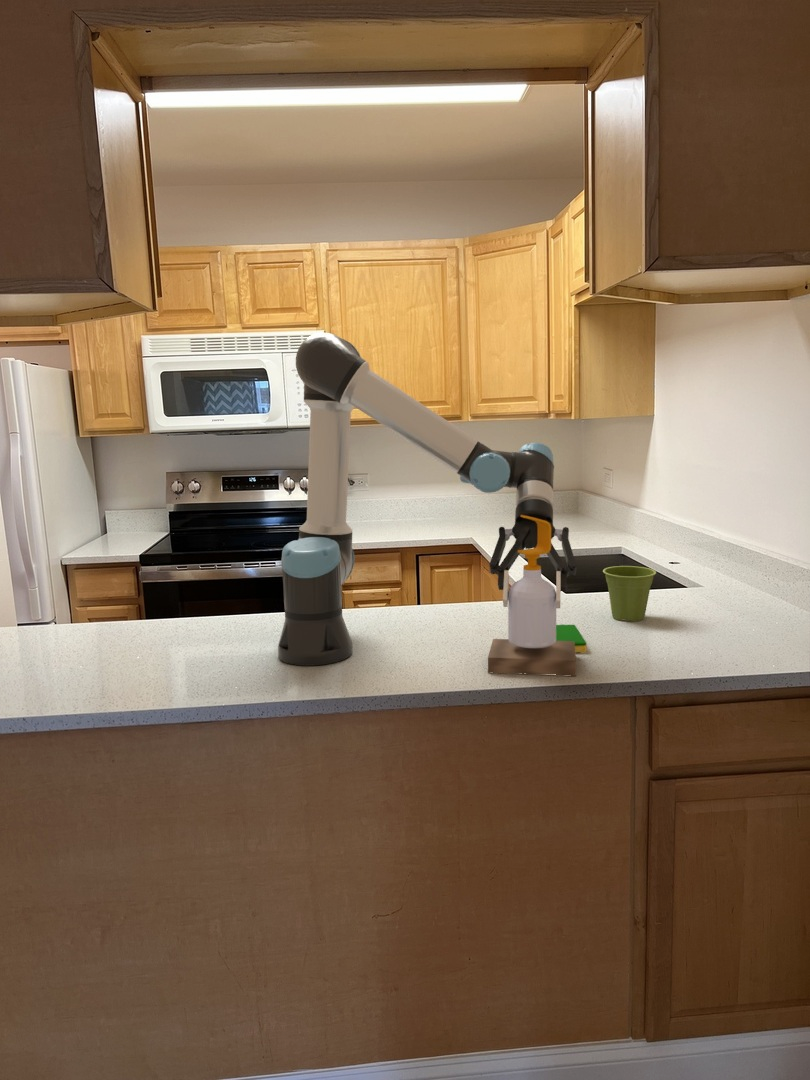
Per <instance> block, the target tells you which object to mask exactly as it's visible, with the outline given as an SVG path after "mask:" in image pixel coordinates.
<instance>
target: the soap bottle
mask: <svg viewBox="0 0 810 1080" xmlns="http://www.w3.org/2000/svg"><path fill="white" fill-rule="evenodd" d="M520 517H523V518H527V519H530V520H533V521H535V522H536V523H537V527H538V541H537V546H536V548H530V549H525V548H524V550H518V553H520V554H521V555H524V559H527V564H525V565H523V573H522V575H523V576H522V578H520V579H519V580H517V581H515V582H514V583H513V584H512V585H510V586H509V588H508V607H507V609H508V611H507V613H508V616H507V619H508V621H507V622H508V624H507V627H508V628H507V629H508V631H507V632H508V633H507V634H508V635H507V636H508V637H507V639H508V640H509V642H510V643H511V644H513V645H515V646H518V647H523V648H544V647H548V646H551V645H553V644H554V643H555V642H556V625H557V608H556V589H555V588H556V587H555V586H553V585H552V584H551V583H550V582H549V581H547V580H545V579H544V578H543V577H542V565H539V564H538V562H537V561H538V560H537V559H540V555H544V554H545V555H547V553H549V551H550V550H551V543H552V539H551V525H550V523H549V522H547V521H545V520H541V519H537V518H534V517H530V516H525V515H521V516H520ZM520 554H519V555H520Z"/></svg>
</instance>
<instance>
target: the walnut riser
mask: <svg viewBox="0 0 810 1080" xmlns="http://www.w3.org/2000/svg"><path fill="white" fill-rule="evenodd" d="M576 669H577V657H576V653H575V643H574V641H556V642H555V643H554V644H553V645H551V646H548V647H544V648H523V647H518V646H515V645H513V644H511V643H510V642H509V640H508V638H493V639H492V642H491V645H490V649H489V653H488V656H487V673H488V672H493V673H492V674H503V673H522V674H521V675H528V674H556V675H571V676H570V677H576V676H577V670H576ZM524 673H526V674H524Z"/></svg>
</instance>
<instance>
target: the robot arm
mask: <svg viewBox="0 0 810 1080" xmlns="http://www.w3.org/2000/svg"><path fill="white" fill-rule="evenodd" d="M295 368H296V372H297V375H298V376H299V379H300V380H301V381H302V382H303V402H304V403H305V404H306V406H307V407H308V408H309V410H310V413H309V414H310V418H309V422H310V423H309V443H308V444H309V445H308V447H309V448H308V469H307V470H308V473H307V475H308V477H307V479H308V480H307V499H306V500H307V501H306V502H307V503H306V504H307V506H306V520H305V522H304V523H303V524H302V525H301V526H299V527H298V528H299V529H298V530H299V531H298V539H297V540H296V539H295V540H292V541H289V542H288V543H287V544H285V545H284V546H283V549H282V551H281V560H280V565H281V568H282V569H281V573H282V585H283V603H284V622H283V623H284V624H283V627H282V630H281V634H280V638H279V642H278V645H277V654H278V656H277V657H278V659H279V660H280V661H282V662H284V663H286V664H290V665H294V666H295V665H297V666H322V665H327V664H334V663H338V662H340V661H343V660H346V659H348V658H349V657H351V656H352V654H353V642H352V639H351V636H350V633H349V630H348V628H347V627H348V626H347V625H346V621H345V619H344V617H343V602H342V601H343V599H342V585H343V584H344V583H345V581H347V579H348V578H349V577H350V575H351V574H352V572H353V569H354V567H355V566H354V565H355V552H354V549H353V528H351V526H350V525H349V523H347V510H348V509H347V506H348V504H347V503H348V487H349V485H348V484H349V465H350V464H349V462H350V444H351V443H350V442H351V441H350V438H351V437H350V436H351V420H352V419H351V417H352V415H351V413H352V411H353V410H354V409H355V408H356V409H358V410H359V411H361V412H362V413H364V414H365V415H367V416H368V417H370V418H371V419H373V420H375V421H376V422H378V423H379V424H381V425H382V426H383V427H385V428H387V429H388V430H390V431H392V432H393V433H395V434H396V435H397V436H399V437H401V438H402V439H404V440H405V441H407V442H408V443H409V444H411V445H413V446H414V447H416V448H418V449H419V450H420V451H422V452H424V453H425V454H426V455H428V456H429V457H431V458H433V459H434V460H436V462H439V463H441V464H442V465H443V466H445V467H446V468H448V469H450V470H451V471H452V472H454V473H456V474H457V475H459V476H460V477H459V479H460V482H462V483H464V484H470V485H472V486H474V488H476V489H477V490H478V491H480V492H482V493H487V494H491V493H496V492H498V491H500V490H502V489H503V488H509V489H511V488H512V489H516V491H515V493H516V494H515V495H516V496H515V514H514V515H515V518H514V525H513V527H512V528H505V527H504V526H500V527H499V528H498V540H497V542H496V544H495V548H494V550H493V553H492V556H491V559H490V562H489V565H488V566H489V573H490V574H491V575H497V576H498V577H497V588H498V590H499V591H502V605H503V608H508V591H509V589H510V586H509V585H510V584H509V583H510V574H509V573H510V572H509V571H510V569H511V568H512V566H513V565H514V563H515V562H516V560H517V559H518V557H519V556H520V553H518V550H524V549H533V548H536V546H537V541H538V527H537V523H536V522H535V521H533V520H530V519H527V518H523V517H520V516H521V515H525V516H530V517H534V518H537V519H541V520H545V521H547V522H549V523H550V525H551V540H552V539H553V538H554V537H555V536H556V537H557V539H558V541H559V542H561V548H562V551H563V554H564V559H565V561H566V564H565V563H564V561H563V560H562V558H561V556H560V555H559V553H558V551H557V550H556V548H555V547H554V545H553V544H552V542H551V550H550V551H549V553H547V554H546V555H547V557H548V558H549V560H550V562H551V564H552V565H553V567H554V569H555V571H556V577H555V579H556V585H555V586H556V587H555V588H556V589H555V591H556V609H561V592H566V591H567V588H568V577H569V576H572V577H573V576H576V575H577V562H576V560H575V559H576V558H575V556H574V553H573V550H572V546H571V543H570V542H571V541H570V539H569V537H570V535H569V533H570V529H569V527H567V526H564V527H563V528H562V529H561V528H560V529H559V528H556V527H555V526H554V474H555V473H554V472H555V470H554V469H555V465H554V455H553V452H552V450H551V449H550V447H549V446H548V445H546V444H544V443H541V442H531V443H525V444H524V445H522V446H521V447H520V448H519V450H518V451H517V452H515V451H503V450H493V449H491V448H490V447H489V446H487V445H485V444H483V443H481V442H480V441H478V440H477V439H476V438H474V437H473V436H471V435H470V434H469V433H467V432H465V431H464V430H463V429H461V428H459V427H458V426H457V425H455V424H453V423H451V422H450V421H449V420H448V419H446V418H444V417H443V416H441V415H439V414H437V413H436V412H435V411H433V410H432V409H430V408H429V407H427V406H426V405H424V404H422V403H421V402H419V401H418V400H417V399H415V398H414V397H412V396H410V395H409V394H408V393H406V392H405V391H403V390H402V389H400V388H398V386H395V385H394V384H393V383H390V382H389V381H388V380H386V379H384V378H383V377H381V376H380V375H378V374H377V373H376V372H374V371H372V370H371V368H370V364H369V362H368V361H367V360H365V359H363V358H362V356H361V355H360V352H359V351H358V348H356V346H354V345H353V344H352V342H349V341H348V340H347V339H344V338H341V336H338V335H337V334H334V333H331V332H319V333H318V332H317V333H314V334H311V335H310V336H308V337H307V338H306V339H304V340H303V341H302V342H301V344H300V345H299V347H298V349H297V352H296V356H295ZM511 536H513V537H514V538H515V541H514V543H513V545H512V546H511V547H510V549H509V551H508V553H506V555H505V557H504V559H503V560H502V556H503V554H504V551H505V547H506V544H507V542H508V541H509V540H510V538H511ZM501 560H502V561H501ZM500 562H501V563H500Z"/></svg>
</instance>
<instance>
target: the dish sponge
mask: <svg viewBox="0 0 810 1080" xmlns="http://www.w3.org/2000/svg"><path fill="white" fill-rule="evenodd" d="M556 641H574V643H575V652H585V653H587V641H586V640H585V639H584V637H583V635H582V634H581V632H580V631H579V628H578V627H577V625H575V624H556Z"/></svg>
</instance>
